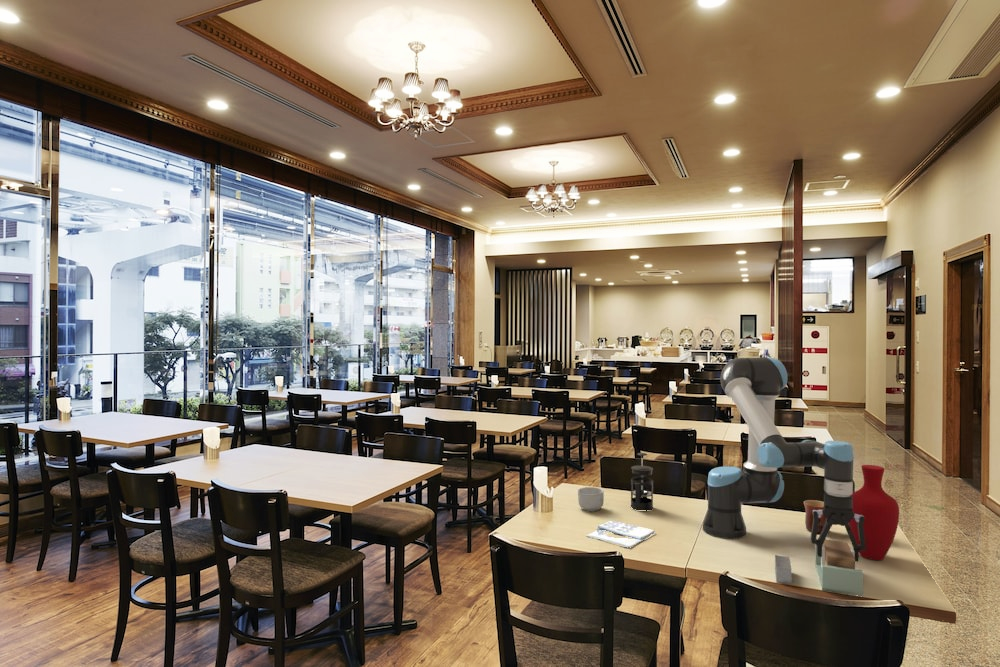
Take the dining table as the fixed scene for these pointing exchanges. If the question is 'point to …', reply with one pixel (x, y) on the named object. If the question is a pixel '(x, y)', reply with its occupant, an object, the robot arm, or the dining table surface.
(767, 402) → the robot arm
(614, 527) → the folded cloth napkin
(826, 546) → the board
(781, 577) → the block
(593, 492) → the teacup
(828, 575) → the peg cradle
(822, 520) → the mug
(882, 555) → the vase
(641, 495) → the french press
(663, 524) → the dining table surface
